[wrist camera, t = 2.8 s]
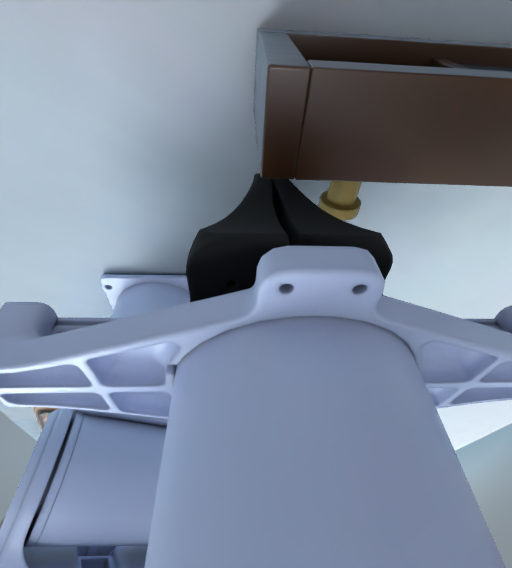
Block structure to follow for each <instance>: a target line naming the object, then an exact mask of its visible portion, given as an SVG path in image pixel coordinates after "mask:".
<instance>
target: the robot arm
mask: <svg viewBox="0 0 512 568" xmlns="http://www.w3.org/2000/svg"><path fill="white" fill-rule="evenodd" d="M392 263H393V257H392V253H391V251H390V249H389V247H388V245H387V243H386V241H385V239H384V238H383V236H382V235H381V233H378V232H374V231H371V230H367V229H363V228H360V227H357V226H355V225H352V224H349V223H347V222H345V221H342V220H340V219H338V218H336V217H334V216H332V215H331V214H329V213H327V212H325V211H324V210H322V209H321V208H319V207H318V206H317V205H315V204H314V203H313V202H311V201H310V200H309V199H308V198H307V197H306V196H304V195H303V194H302V193H301V192H300V191H299V190H298V189H297V188H296V187H295V186H294V185H293V183H292V182H291V181H290V180H289V179H275V178H261V177H260V173H256V174H255V175H254V180H253V183H252V185H251V187H250V189H249V191H248V193H247V195H246V196H245V197H244V199H243V200H242V202H241V203H240V204H239V205H238V207H237V208H236V209H235V210H234V211H233V212H232V213H231V214H229V215H228V216H227V217H226V218H224V219H222V220H221V221H219V222H217V223H215V224H213V225H211V226H208V227H206V228H203V229H200V230H199V232H198V233H197V235H196V237H195V239H194V241H193V244H192V246H191V249H190V252H189V255H188V260H187V265H186V275H102V276H101V278H100V283H101V286H102V288H103V290H104V292H105V294H106V296H107V298H108V301H109V303H110V305H111V307H112V309H113V313H112V315H111V318H58V317H57V315H56V313H55V311H54V310H53V309H52V308H51V307H50V306H49V305H47V304H44V303H39V302H6V303H5V304H4V305H3V306H2V308H1V309H0V402H2V403H3V404H5V405H6V406H7V407H48V408H60V409H57V410H55V411H53V412H51V413H50V414H49V416H48V418H47V421H46V423H45V425H44V427H43V430H42V432H41V434H40V437H39V439H38V441H37V444H36V446H35V449H34V451H33V453H32V455H31V458H30V460H29V462H28V465H27V467H26V470H25V472H24V474H23V477H22V479H21V481H20V484H19V486H18V489H17V491H16V493H15V496H14V498H13V500H12V503H11V505H10V507H9V510H8V512H7V514H6V517H5V519H4V521H3V524H2V526H1V529H0V568H506V567H505V564H504V562H503V560H502V558H501V555H500V553H499V551H498V549H497V546H496V544H495V542H494V539H493V537H492V535H491V533H490V530H489V528H488V526H487V523H486V521H485V519H484V517H483V514H482V512H481V510H480V507H479V505H478V503H477V501H476V498H475V496H474V494H473V492H472V489H471V487H470V485H469V482H468V480H467V478H466V476H465V473H464V471H463V469H462V467H461V464H460V462H459V460H458V457H457V455H456V453H455V451H454V448H453V446H452V444H451V442H450V439H449V437H448V435H447V433H446V430H445V428H444V426H443V423H442V421H441V419H440V417H439V414H438V412H437V410H436V409H437V408H444V407H451V406H458V405H465V404H473V403H482V402H490V401H502V400H512V306H508V307H506V308H504V309H503V310H501V311H500V312H499V313H498V314H497V316H496V317H495V318H494V319H462V318H458V317H455V316H451V315H448V314H445V313H441V312H438V311H435V310H431V309H428V308H424V307H421V306H418V305H414V304H411V303H408V302H404V301H401V300H397V299H394V298H391V297H387V296H384V295H383V290H384V283H385V279H386V277H387V275H388V273H389V271H390V269H391V266H392ZM73 410H74V411H73Z"/></svg>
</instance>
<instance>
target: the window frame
mask: <svg viewBox="0 0 512 568" xmlns="http://www.w3.org/2000/svg"><path fill="white" fill-rule="evenodd" d="M254 119H255V130H256V140H257V150H258V160H259V170H260V177H261V178H275V179H294V177H295V179H296V180H326V181H356V182H387V183H417V184H448V185H478V186H509V187H512V45H508V44H493V43H478V42H462V41H447V40H432V39H416V38H401V37H386V36H370V35H355V34H340V33H324V32H309V31H294V30H278V29H263V28H258V29H257V42H256V65H255V88H254Z"/></svg>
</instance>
